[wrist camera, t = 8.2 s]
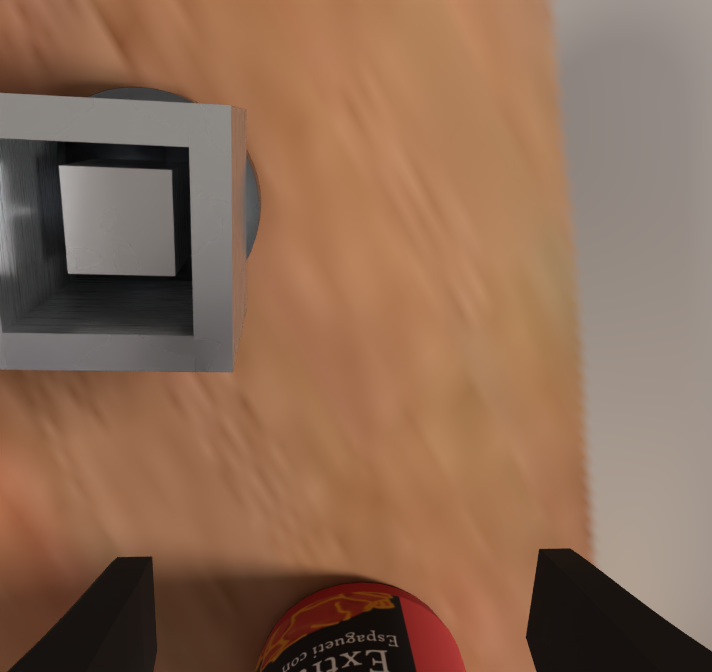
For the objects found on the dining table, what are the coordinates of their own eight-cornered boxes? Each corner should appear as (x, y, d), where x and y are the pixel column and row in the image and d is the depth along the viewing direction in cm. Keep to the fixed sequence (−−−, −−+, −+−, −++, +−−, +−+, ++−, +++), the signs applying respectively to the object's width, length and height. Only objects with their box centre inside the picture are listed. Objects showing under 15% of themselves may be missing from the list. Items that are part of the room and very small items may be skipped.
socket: (48, 305, 18) (-35, 369, 14) (28, 98, 17) (-73, 89, 12) (246, 309, 19) (232, 372, 14) (246, 109, 17) (231, 105, 13)
